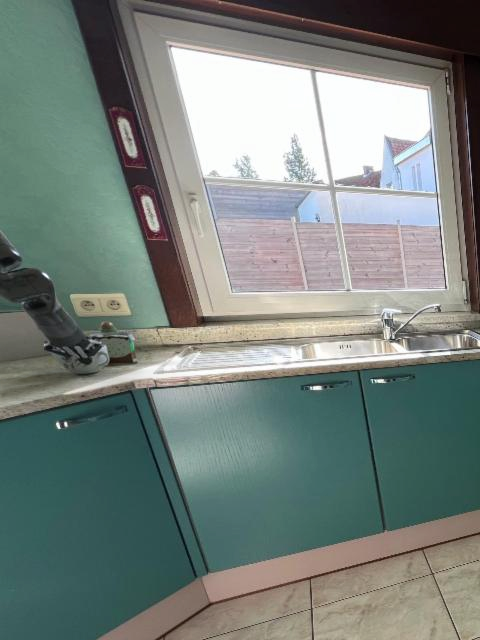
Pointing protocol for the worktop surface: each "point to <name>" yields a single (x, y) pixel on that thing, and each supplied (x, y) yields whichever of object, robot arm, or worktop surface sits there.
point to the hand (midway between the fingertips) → (87, 362)
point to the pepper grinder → (107, 327)
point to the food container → (118, 346)
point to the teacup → (80, 368)
